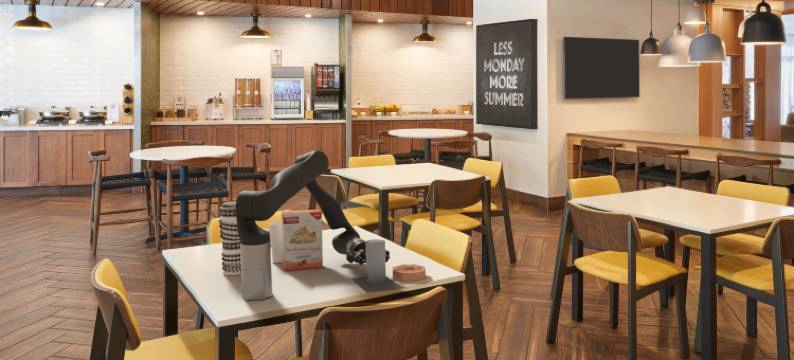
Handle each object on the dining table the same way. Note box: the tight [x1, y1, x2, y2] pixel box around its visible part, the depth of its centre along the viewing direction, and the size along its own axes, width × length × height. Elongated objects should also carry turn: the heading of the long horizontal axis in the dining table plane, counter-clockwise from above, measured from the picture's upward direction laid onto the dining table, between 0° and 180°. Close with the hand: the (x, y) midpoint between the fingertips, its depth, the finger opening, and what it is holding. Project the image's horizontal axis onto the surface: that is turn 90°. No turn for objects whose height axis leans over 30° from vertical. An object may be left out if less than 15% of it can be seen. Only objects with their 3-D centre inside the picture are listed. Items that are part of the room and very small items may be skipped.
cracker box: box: [281, 209, 324, 271], centre depth 244 cm, size 14×6×21 cm, turn 105°
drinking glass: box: [268, 220, 283, 264], centre depth 253 cm, size 7×7×15 cm
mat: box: [350, 275, 404, 294], centre depth 222 cm, size 18×12×1 cm, turn 21°
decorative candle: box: [218, 201, 241, 276], centre depth 240 cm, size 9×9×25 cm
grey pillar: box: [365, 238, 387, 286], centre depth 221 cm, size 6×6×14 cm
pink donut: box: [392, 263, 427, 283], centre depth 229 cm, size 11×11×4 cm
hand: (374, 260), depth 222 cm, fingers open, 8 cm apart
